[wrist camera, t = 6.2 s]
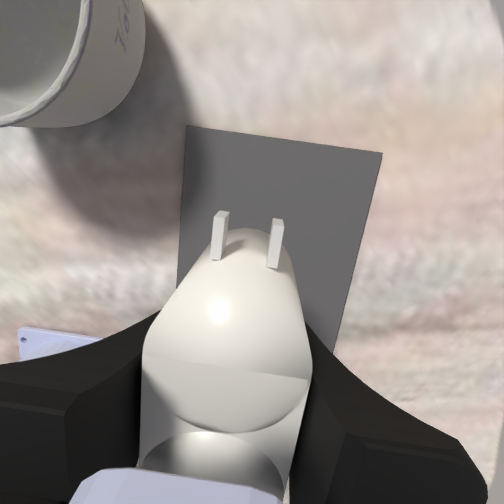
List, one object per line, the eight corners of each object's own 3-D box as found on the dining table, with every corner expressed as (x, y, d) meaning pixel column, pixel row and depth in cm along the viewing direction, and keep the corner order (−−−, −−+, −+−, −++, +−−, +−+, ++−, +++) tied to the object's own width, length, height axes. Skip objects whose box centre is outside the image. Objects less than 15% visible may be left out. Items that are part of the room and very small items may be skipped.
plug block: (270, 394, 15) (271, 548, 9) (189, 382, 15) (137, 526, 9) (306, 208, 12) (339, 255, 6) (205, 194, 12) (146, 227, 6)
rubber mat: (327, 369, 23) (327, 372, 23) (173, 346, 24) (172, 348, 23) (381, 152, 19) (382, 153, 18) (187, 126, 19) (186, 125, 18)
